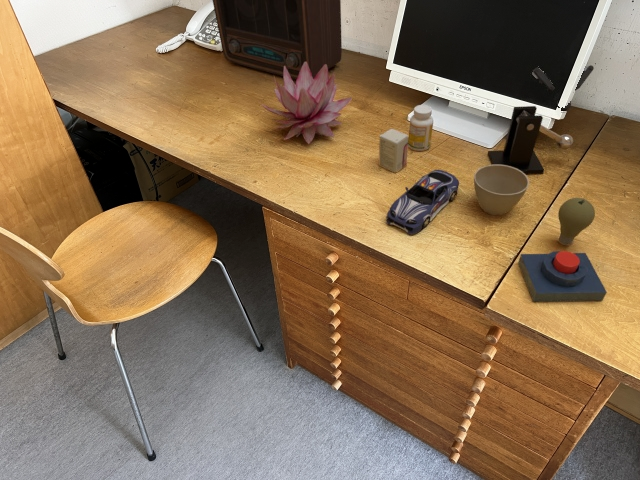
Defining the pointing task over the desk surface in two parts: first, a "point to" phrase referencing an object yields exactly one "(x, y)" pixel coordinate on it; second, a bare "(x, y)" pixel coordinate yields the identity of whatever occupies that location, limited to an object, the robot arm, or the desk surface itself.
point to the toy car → (431, 192)
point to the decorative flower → (309, 103)
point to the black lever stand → (520, 143)
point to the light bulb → (574, 218)
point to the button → (566, 262)
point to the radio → (280, 34)
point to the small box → (393, 150)
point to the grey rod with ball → (553, 134)
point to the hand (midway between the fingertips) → (563, 111)
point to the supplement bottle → (420, 128)
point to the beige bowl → (499, 188)
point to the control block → (560, 279)
